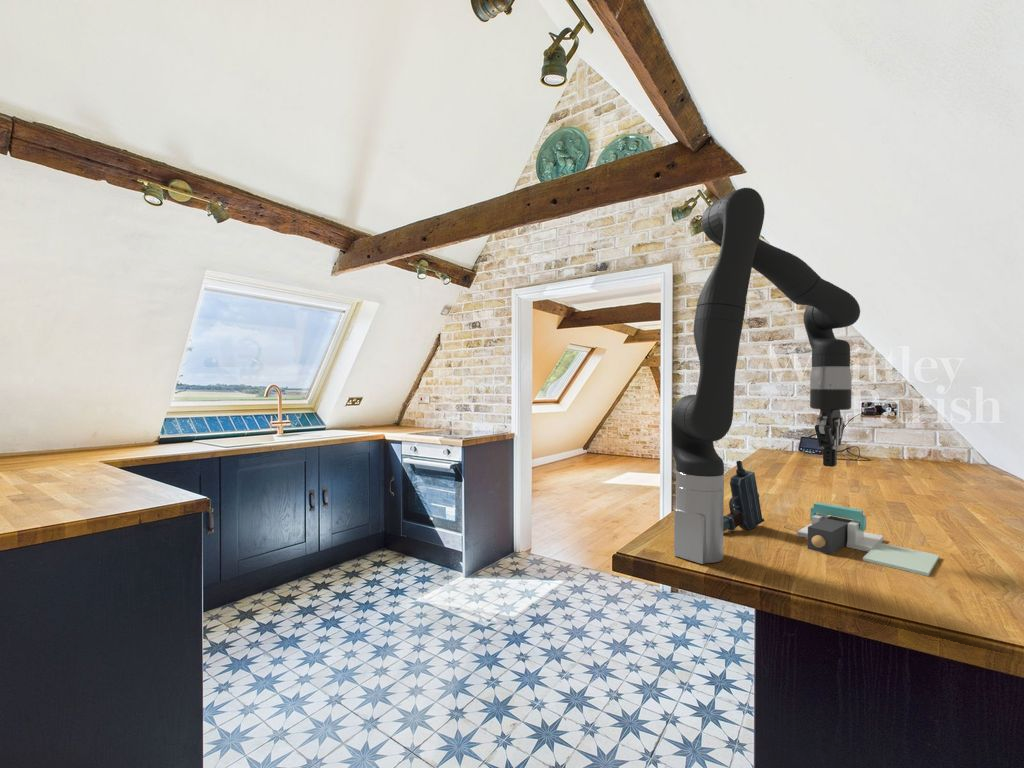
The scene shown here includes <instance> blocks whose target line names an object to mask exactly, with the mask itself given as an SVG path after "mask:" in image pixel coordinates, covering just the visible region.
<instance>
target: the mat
mask: <svg viewBox="0 0 1024 768" xmlns="http://www.w3.org/2000/svg"><path fill="white" fill-rule="evenodd" d="M939 560H940V554H935V553H931V552H925V551H921V550H917V549H911V548H907V547H902V546H897V545H892V544H887V543H883V542H881V543H878V544H876V545H875V546H874V547H873V548H872V549H871V550H870V551H869V552H867V553H866V554H865V555H863V557H862V562H868V563H871V564H876V565H880V566H884V567H889V568H893V569H898V570H900V571H905V572H910V573H914V574H917V575H922V576H926V577H929V576H930V574H931V573H932V571H933V570H934V568H935V566H936V564H937V563H938V561H939Z"/></svg>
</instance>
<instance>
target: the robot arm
mask: <svg viewBox="0 0 1024 768" xmlns="http://www.w3.org/2000/svg"><path fill="white" fill-rule="evenodd" d="M765 213H766V212H765V204H764V200H763V197H762V196H761V194H760V192H758V191H757V190H756V189H754V188H751V187H742V188H739V189H735V190H733V191H732V192H730V193H728V194H726V195H725V196H722V197H721V198H719V199H717V201H714V202H713V203H711V204H710V205H709V206H707V207H706V209H705V210H704V212H703V213H702V216H701V228H702V231H703V233H704V235H705V236H706V237H707V238H708V239H709V240H710V241H711V242H713V243H714V244H715V245H717V246H718V247H720V250H719V254H718V257H717V259H716V262H715V264H714V266H713V268H712V270H711V272H710V274H709V275H708V278H707V279H706V281H705V283H704V285H703V287H702V289H701V291H700V294H699V295H698V299H697V302H696V303H697V304H696V307H695V313H694V319H693V320H694V321H693V338H694V343H695V348H696V353H697V356H698V360H699V362H698V363H699V378H698V383H697V388H696V393H695V394H689V395H684V396H683V397H681V398H680V399H678V400H677V402H676V403H675V404H674V406H673V409H672V412H671V448H672V456H673V458H674V462H675V471H676V472H675V510H674V514H673V515H674V517H673V519H674V520H673V521H674V522H673V523H674V525H673V529H674V530H673V532H674V533H673V537H674V538H673V556H675V557H678V558H681V559H684V560H687V561H691V562H694V563H697V564H700V565H704V564H711V563H712V564H713V563H719V562H721V561H723V560H724V532H723V516H725V515H724V510H725V509H724V506H725V504H724V503H725V502H724V499H725V498H724V494H725V493H724V492H725V491H724V489H725V463H724V460H723V459H722V458H721V457H720V456H719V454H718V453H717V451H716V449H715V445H714V442H718V441H719V440H721V439H723V438H724V437H725V436H726V435H727V434H728V433H729V431H730V429H731V427H732V424H733V418H734V410H735V408H734V407H735V406H734V405H735V383H736V382H735V380H736V370H737V364H738V357H739V349H740V343H741V336H742V332H743V327H744V326H743V325H744V318H745V312H746V305H747V297H748V291H749V286H750V285H749V284H750V280H751V275H752V274H751V273H752V269H754V270H755V271H756V272H757V273H759V274H761V275H762V276H763V277H764V278H766V279H767V280H768V281H769V282H771V284H773V285H774V287H776V288H777V289H778V290H779V291H780V292H782V294H784V295H785V297H787V298H788V299H789V300H790V301H791V302H793V304H796V305H799V306H806V308H805V310H804V311H803V312H804V313H803V325H804V329H805V332H806V336H807V337H808V338H807V339H808V342H809V345H810V348H811V371H810V378H809V386H810V387H809V408H811V409H814V410H819V416H818V417H817V419H816V420H817V422H816V424H815V425H814V431H815V433H816V439H817V442H818V445H819V447H821V449H822V464H823V466H824V467H831V468H834V467H836V466H837V465H838V460H837V459H838V458H837V457H838V456H837V455H838V449H839V447H840V446H841V444H842V439H843V434H844V430H845V427H846V425H845V422H844V418H843V417H842V416H841V411H847V410H851V408H852V380H853V379H852V372H851V346H850V343H849V342H848V341H847V340H844V339H839V338H836V337H835V334H834V332H833V331H834V330H835V329H842V328H847V327H850V326H852V325H854V324H855V323H857V322H858V320H859V319H860V316H861V307H860V305H859V302H858V300H857V299H856V298H855V297H854V296H853V295H852V294H851V293H849V292H848V291H847V290H844V289H843V288H841V287H839V286H837V285H835V284H834V283H832V282H830V281H828V280H825V279H823V278H822V277H821V276H820V275H819V274H818V273H817V272H816V271H815V270H814V269H813V268H812V267H811V266H810V265H809V264H808V263H807V262H805V261H804V260H803V259H802V258H800V257H798V256H796V255H795V254H793V253H791V252H788V251H786V250H784V249H781V248H778V247H776V246H774V245H771V244H769V243H768V242H766V241H764V240H763V239H761V238H760V236H761V232H762V230H763V226H764V225H763V224H764V221H765V220H764V219H765ZM833 329H834V330H833Z"/></svg>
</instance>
